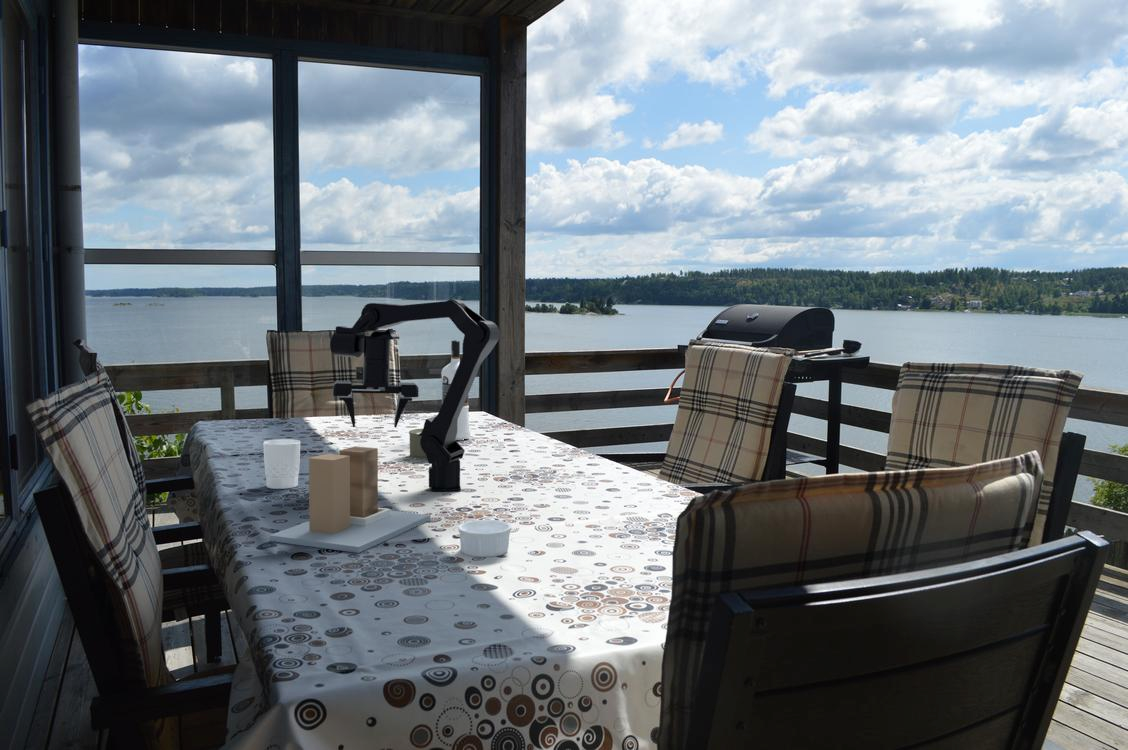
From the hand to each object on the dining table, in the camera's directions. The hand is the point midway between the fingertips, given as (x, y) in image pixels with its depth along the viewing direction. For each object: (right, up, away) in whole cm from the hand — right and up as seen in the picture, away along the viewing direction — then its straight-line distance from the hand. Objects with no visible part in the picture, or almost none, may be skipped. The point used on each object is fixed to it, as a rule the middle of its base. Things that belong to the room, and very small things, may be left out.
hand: (374, 427), depth 199 cm
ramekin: (+30, -18, -52) cm, 62 cm away
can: (+7, -10, +38) cm, 40 cm away
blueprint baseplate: (+5, -16, -40) cm, 43 cm away
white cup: (-20, -13, -3) cm, 24 cm away
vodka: (+10, -8, +68) cm, 69 cm away
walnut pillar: (+5, -15, -35) cm, 38 cm away
